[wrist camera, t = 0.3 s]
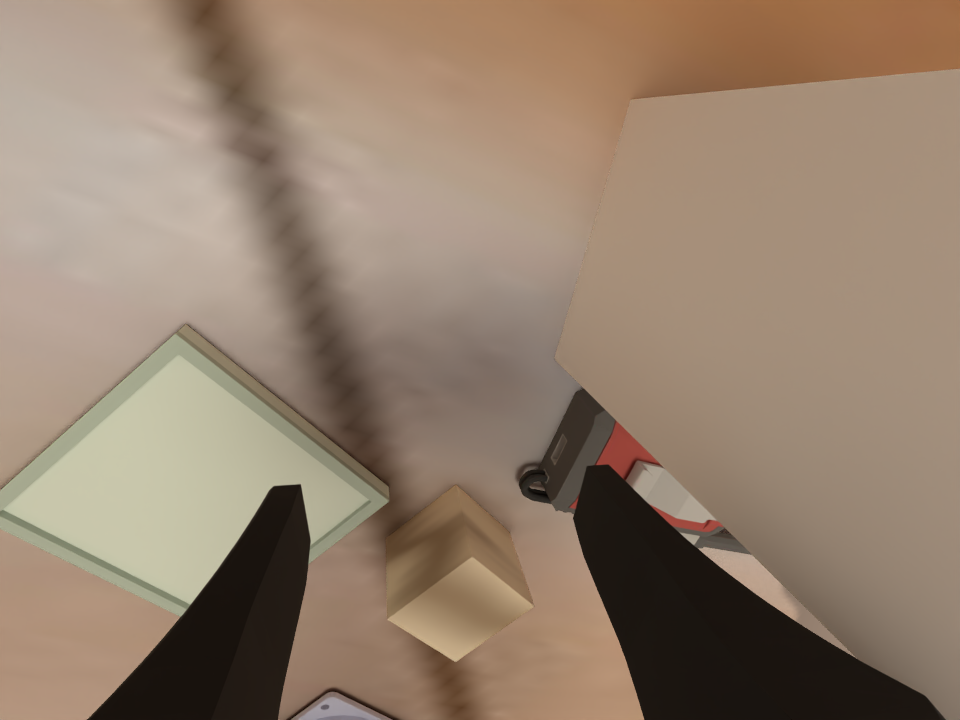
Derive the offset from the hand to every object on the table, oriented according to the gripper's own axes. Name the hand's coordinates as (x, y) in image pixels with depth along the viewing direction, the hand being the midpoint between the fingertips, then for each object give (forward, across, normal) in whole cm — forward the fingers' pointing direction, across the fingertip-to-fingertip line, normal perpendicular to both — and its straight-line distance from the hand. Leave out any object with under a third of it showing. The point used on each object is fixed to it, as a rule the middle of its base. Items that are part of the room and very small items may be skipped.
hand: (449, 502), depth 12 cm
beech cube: (+9, -1, +13) cm, 16 cm away
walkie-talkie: (+10, -15, +10) cm, 21 cm away
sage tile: (+9, +10, +8) cm, 16 cm away
